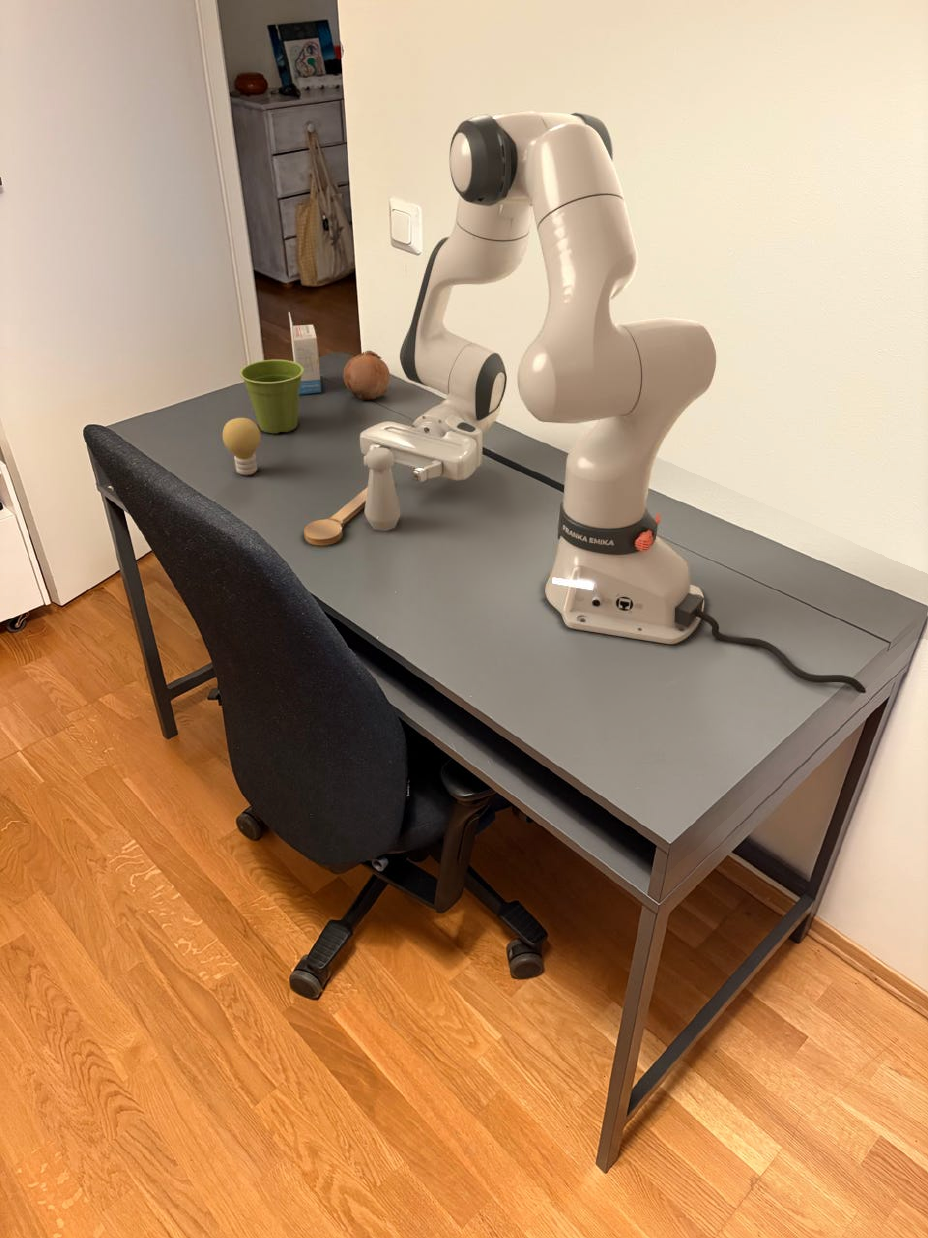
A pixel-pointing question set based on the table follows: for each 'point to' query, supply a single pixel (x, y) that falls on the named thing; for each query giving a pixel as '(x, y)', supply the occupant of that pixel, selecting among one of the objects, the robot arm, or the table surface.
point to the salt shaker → (381, 491)
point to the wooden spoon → (334, 523)
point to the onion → (366, 375)
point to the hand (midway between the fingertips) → (391, 469)
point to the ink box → (306, 357)
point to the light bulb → (242, 443)
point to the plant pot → (274, 393)
